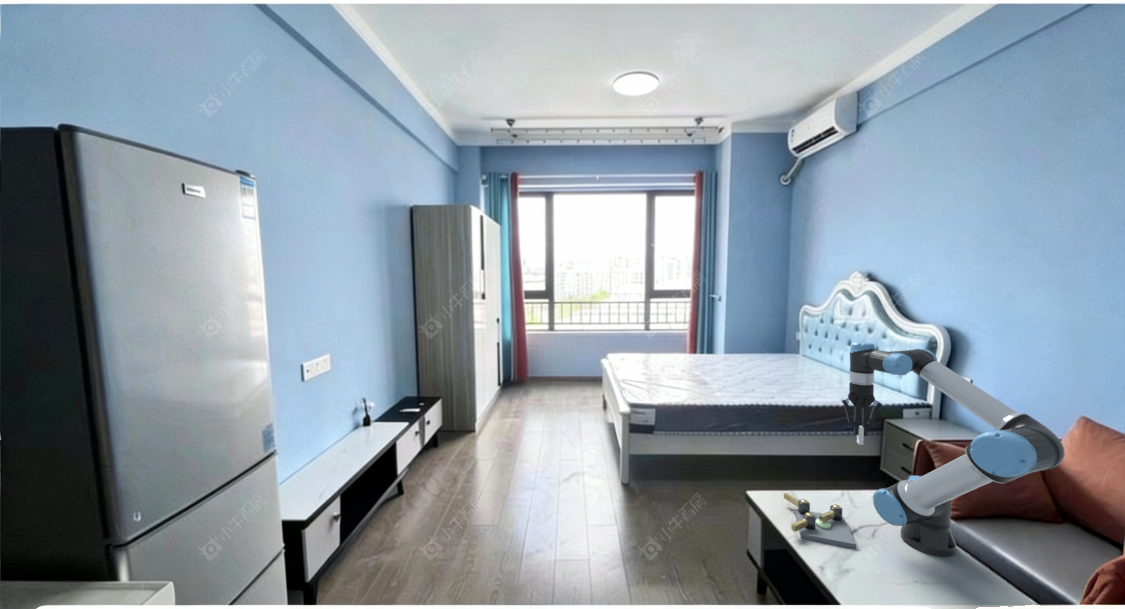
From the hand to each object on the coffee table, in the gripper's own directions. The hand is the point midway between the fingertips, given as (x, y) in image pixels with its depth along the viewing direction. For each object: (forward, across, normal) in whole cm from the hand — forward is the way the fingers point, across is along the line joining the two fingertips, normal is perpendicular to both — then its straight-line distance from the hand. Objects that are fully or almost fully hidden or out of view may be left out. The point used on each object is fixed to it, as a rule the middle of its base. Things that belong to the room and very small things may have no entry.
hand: (860, 443), depth 160 cm
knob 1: (+31, +21, -2) cm, 37 cm away
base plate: (+32, +13, +8) cm, 36 cm away
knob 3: (+31, +10, +4) cm, 32 cm away
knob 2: (+31, +20, +14) cm, 39 cm away
